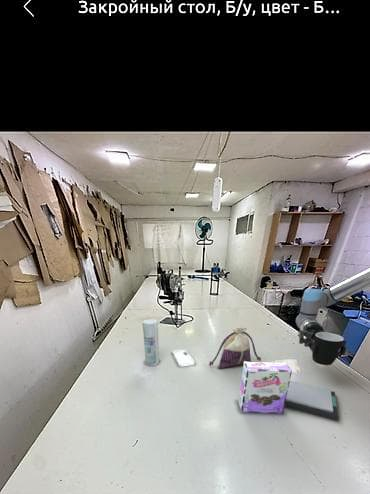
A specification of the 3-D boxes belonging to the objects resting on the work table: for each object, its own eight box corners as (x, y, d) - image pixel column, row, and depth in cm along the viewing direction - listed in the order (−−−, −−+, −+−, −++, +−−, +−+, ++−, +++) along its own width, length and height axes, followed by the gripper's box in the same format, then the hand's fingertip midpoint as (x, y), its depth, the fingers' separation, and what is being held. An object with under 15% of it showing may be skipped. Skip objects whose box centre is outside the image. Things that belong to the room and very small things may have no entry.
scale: (333, 396, 87) (335, 389, 86) (336, 421, 74) (339, 414, 73) (287, 385, 93) (288, 379, 92) (282, 406, 81) (284, 399, 80)
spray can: (142, 364, 108) (139, 322, 100) (149, 358, 114) (147, 318, 105) (155, 366, 106) (153, 324, 98) (161, 360, 111) (160, 320, 103)
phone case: (172, 353, 119) (179, 366, 106) (172, 350, 119) (179, 364, 105) (186, 351, 121) (195, 365, 108) (186, 349, 120) (195, 362, 107)
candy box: (240, 413, 78) (246, 369, 71) (237, 402, 83) (243, 360, 76) (283, 414, 77) (293, 370, 70) (277, 403, 83) (286, 361, 76)
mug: (338, 369, 83) (346, 342, 79) (310, 364, 86) (317, 338, 82) (332, 355, 93) (339, 331, 89) (307, 351, 96) (313, 328, 92)
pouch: (214, 374, 100) (217, 332, 92) (206, 365, 107) (208, 326, 99) (263, 365, 108) (269, 325, 100) (252, 357, 115) (257, 320, 107)
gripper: (336, 339, 103) (360, 362, 83) (284, 335, 107) (294, 356, 87) (341, 323, 100) (366, 343, 80) (287, 319, 104) (298, 337, 84)
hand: (329, 350), depth 83 cm, fingers closed on mug, 9 cm apart
